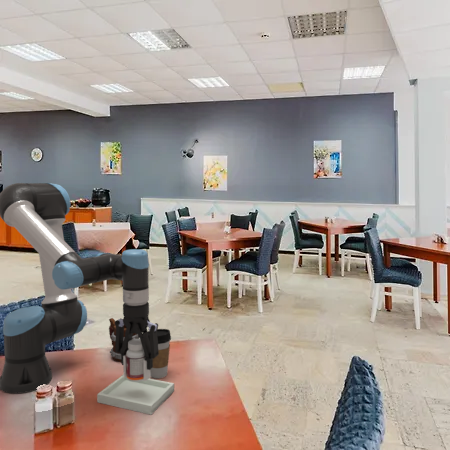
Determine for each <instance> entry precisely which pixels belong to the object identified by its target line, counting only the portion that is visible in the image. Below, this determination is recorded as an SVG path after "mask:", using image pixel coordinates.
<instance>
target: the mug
mask: <svg viewBox="0 0 450 450" xmlns="http://www.w3.org/2000/svg"><path fill="white" fill-rule="evenodd" d="M108 321H109V323H110V324H109V326H108V332H109V333H108V334H109V339H110V340H111V346H112V348H111V349H110V350H109V354H110V356H111V358H112V361H115V362H120V363H121V354H120V353H117V352H115V342H116V326H115V321H116V319H114V318H113V317H111V318H109V319H108ZM125 332H126V326H125V324H124V338H125ZM132 339H140V338H139V337H138V334H136V333H133V336H132ZM123 341H124V340H123Z"/></svg>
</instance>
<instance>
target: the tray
mask: <svg viewBox="0 0 450 450" xmlns="http://www.w3.org/2000/svg"><path fill="white" fill-rule="evenodd" d="M174 392H175V383H174V382H171V381H170V382H168V381H164V380H159V379H156V378H151V377H150V378H149V379H148V380H147V381H144V380H143V381H140V382H131V381H129V380H128V379H127V377H124V373H123V374H122V375H121V376H120V377H118V378H117V379H115V380H114V381H113V382H111V383H110V384H109V385H107V386H106V387H105V388H104V389H102V390H101V391H99V392H98V393H97V395H96V398H97V399H96V401H97V403H99V404H103V405H106V406H107V405H108V406H112V407H115V408H116V407H117V408H121V409H125V410H128V411H129V410H130V411H134V412H137V413H141V414H146V415H152V414H154V413H155V411H156V410H157V409H159V408H160V407H161V405H163V403H164V402H165V401H166V400H167V399H168V398H169V397H170V396H171V395H172V393H174Z"/></svg>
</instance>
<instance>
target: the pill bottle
mask: <svg viewBox="0 0 450 450" xmlns="http://www.w3.org/2000/svg"><path fill="white" fill-rule="evenodd" d="M126 357H127V379H128V380H129V381H131V382H140V381H143V380H144V372H143V360H144V359H145V358H146V357H145V354H144V351H143V347H142V344H141V340H140V338H139V339H132V340H130V341H129V342H128V351H127V353H126Z"/></svg>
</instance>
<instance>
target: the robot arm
mask: <svg viewBox="0 0 450 450" xmlns="http://www.w3.org/2000/svg"><path fill="white" fill-rule="evenodd" d="M70 208H71V199H70V195H69V193H68V191H67V190H66V188H64V187H63V186H62V185H60V184H58V183H50V182H46V183H45V182H43V183H41V182H36V183H34V182H31V183H30V182H28V183H26V182H16V183H13V184H10V185H7V186H6V187H5V188H4V189H3V190H2V191H1V192H0V219H1V220H2V221H3V222H4V223H5V224H6V225H7V226H9V227H11V228H15V230H17V232H18V233H19V234H20V235H21V236H22V237H23V238H24V239H25V240H26V241H27V242H28V243H29V244H30V245H31V246H32V247H33V249H34V250H35V251H36V252H37V253H38V257H39V263H40V264H39V265H40V270H41V275H42V276H41V277H42V284H43V289H44V290H43V291H44V298H43V300H42V301H41V306H39V305H38V306H37V305H32V306H31V305H30V306H25V307H21V308H18V309H15V310H12V312H10V313H8V314H7V315H6V316H5V318H4V319H3V328H2V329H3V330H2V334H3V343H4V345H3V349H4V364H3V368H2V373H1V375H0V390H1V391H2V392H3V393H5V394H6V393H8V394H24V393H28V392H29V393H30V392H33V391H36V390H37V389H36V388H37V387H38V386H40V385H43V384H48V385H49V383H50V382H51V381H52V379H53V374H52V373H53V371H52V369H51V367H50V364H49V360H48V359H47V356H46V345H48V344H49V345H50V344H51V343H54V342H57V341H60V340H62V339H65V338H70V337H73V336H74V335H76V334H80V332H82V331H83V329H84V328H85V327H86V324H87V321H88V311H87V307H86V306H85V304H84V302H83V301H82V300H79V299H78V295H77V294H75V293H74V292H73V291H72V289H77V288H79V287H83V286H88V285H91V284H95V283H100V282H104V281H108V280H117V281H122V302H123V304H122V315H123V318H118V319H117V320H115V326H116V342H115V352H117V353H120V354H121V362H120V363H121V366H123V367H122V368H123V374H124V377H127V357H126V353H127V351H128V342H129V341H130V340H132V336H133V333H136V334H138V337H139V339H140V340H141V344H142V347H143V351H144V354H145V357H146V358H145V359H144V360H143V372H144V381H147V380H148V379H149V378H150V379H151V378H152V377H151V374H150V369H151V368H152V367H153V359H154V358H155V357H156V356H158V355H159V351H158V338H157V329H159V328H158V327H159V323H158V322H157V323H153V322H151V320H150V318H149V315H150V302H149V301H150V291H149V290H150V287H149V267H150V263H149V254H148V252H147V250H144V249H135V248H133V249H132V248H131V249H126V250H123V252H122V253H121V254H115V253H111V252H99V253H97V254H96V255H95V256H91V257H86V258H84V257H83V258H82V257H81V256H80V255H79V254H78V253H77V252H76V251H75V250H74V249H73V248H72V247H71V246H70V245H69V244H68V243H67V242H66V241H65V238H64V231H63V224H64V223H65V221H66V220H67V219H66V215H68V214H69V212H70V211H71V209H70ZM124 324H125V326H126V332H125V338H124ZM147 328H148V329H147ZM148 331H150V332H149V337H150V341H149V338H148ZM123 340H124V341H123Z"/></svg>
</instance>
